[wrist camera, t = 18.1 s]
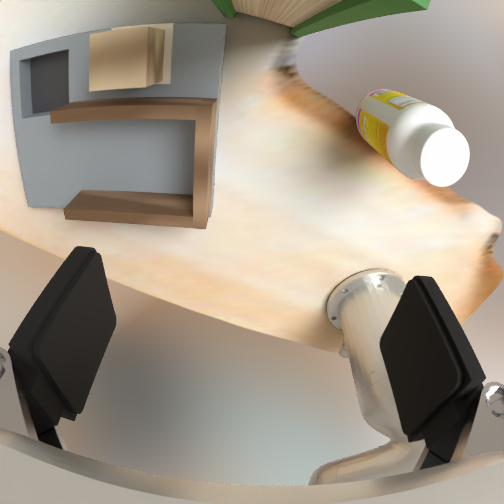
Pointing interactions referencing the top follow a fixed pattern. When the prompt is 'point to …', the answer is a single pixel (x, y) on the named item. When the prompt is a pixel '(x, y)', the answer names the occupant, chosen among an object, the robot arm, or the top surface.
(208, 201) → the brown wooden u-shaped frame
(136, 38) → the block
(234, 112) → the top surface
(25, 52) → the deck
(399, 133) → the supplement bottle
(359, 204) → the top surface
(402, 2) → the hardback book
